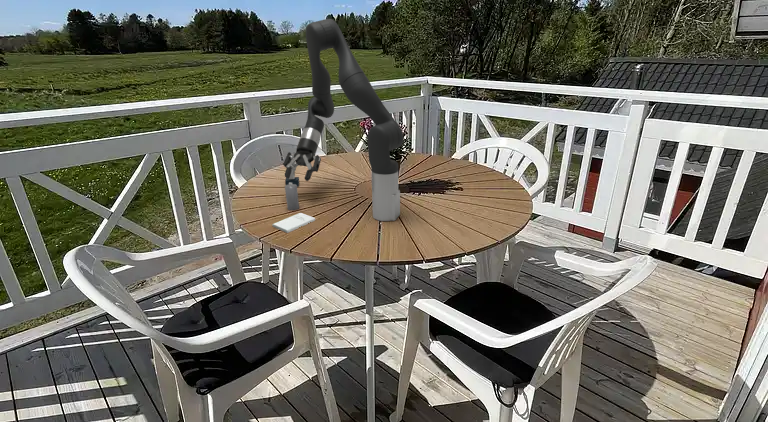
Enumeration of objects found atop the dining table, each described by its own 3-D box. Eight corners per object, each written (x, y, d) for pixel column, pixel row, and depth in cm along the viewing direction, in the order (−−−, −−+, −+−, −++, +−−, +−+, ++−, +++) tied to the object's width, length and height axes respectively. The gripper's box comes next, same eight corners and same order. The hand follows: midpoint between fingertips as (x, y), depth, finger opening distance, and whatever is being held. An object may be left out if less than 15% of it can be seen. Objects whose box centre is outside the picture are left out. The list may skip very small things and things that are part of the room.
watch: (299, 182, 177) (297, 158, 173) (298, 188, 170) (295, 163, 166) (287, 182, 177) (284, 159, 172) (285, 188, 169) (282, 164, 165)
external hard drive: (272, 228, 136) (300, 216, 145) (287, 234, 131) (315, 221, 140) (272, 223, 135) (300, 212, 144) (287, 230, 130) (315, 217, 139)
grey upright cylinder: (301, 206, 151) (298, 181, 147) (295, 211, 148) (292, 185, 143) (291, 205, 153) (288, 180, 149) (285, 209, 149) (282, 184, 145)
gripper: (289, 135, 154) (275, 172, 149) (321, 138, 149) (308, 176, 144) (297, 145, 160) (285, 181, 155) (328, 148, 156) (316, 185, 151)
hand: (296, 178), depth 150 cm, fingers open, 8 cm apart
